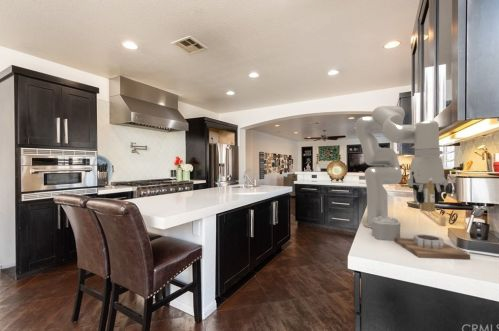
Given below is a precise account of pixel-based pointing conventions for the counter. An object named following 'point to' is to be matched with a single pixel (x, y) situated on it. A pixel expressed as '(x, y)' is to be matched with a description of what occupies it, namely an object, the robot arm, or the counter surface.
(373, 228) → the lumpy-topped squat cylinder
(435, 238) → the socket ring
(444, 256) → the walnut board
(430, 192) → the sprinkles bottle
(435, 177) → the robot arm
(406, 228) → the counter surface
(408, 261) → the counter surface
